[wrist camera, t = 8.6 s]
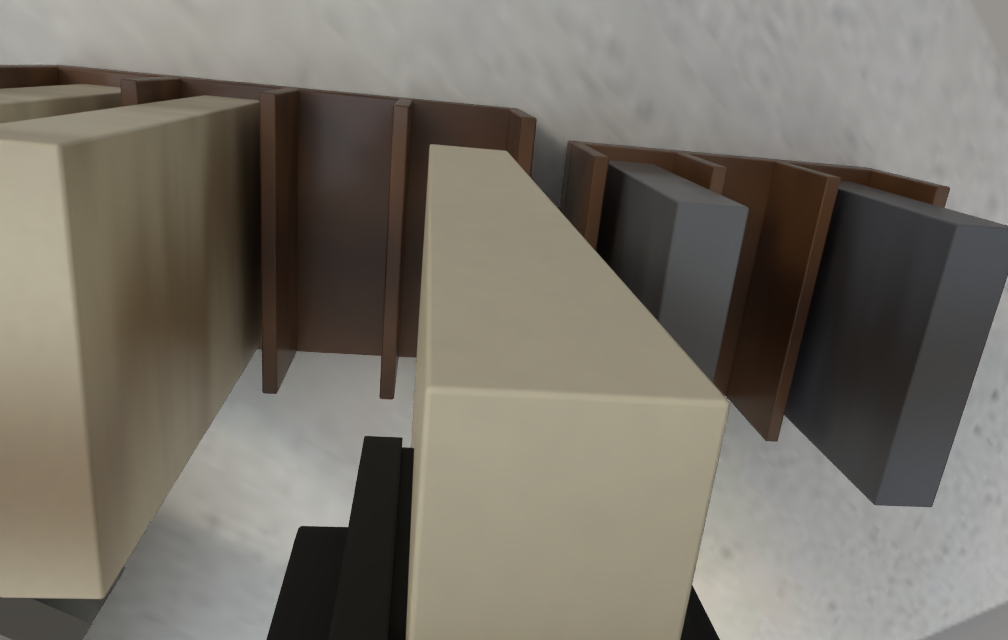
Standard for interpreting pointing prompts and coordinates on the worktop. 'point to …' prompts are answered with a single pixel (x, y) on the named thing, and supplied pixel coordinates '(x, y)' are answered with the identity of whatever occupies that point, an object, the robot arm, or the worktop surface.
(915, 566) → the worktop surface
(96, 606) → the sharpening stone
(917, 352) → the brown slotted rack
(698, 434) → the cream book
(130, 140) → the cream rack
